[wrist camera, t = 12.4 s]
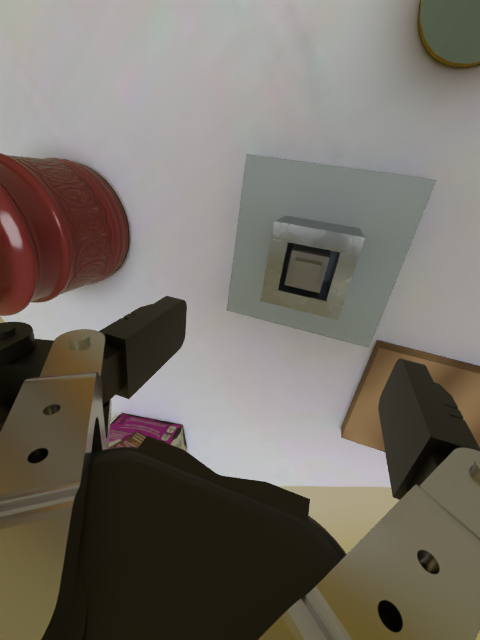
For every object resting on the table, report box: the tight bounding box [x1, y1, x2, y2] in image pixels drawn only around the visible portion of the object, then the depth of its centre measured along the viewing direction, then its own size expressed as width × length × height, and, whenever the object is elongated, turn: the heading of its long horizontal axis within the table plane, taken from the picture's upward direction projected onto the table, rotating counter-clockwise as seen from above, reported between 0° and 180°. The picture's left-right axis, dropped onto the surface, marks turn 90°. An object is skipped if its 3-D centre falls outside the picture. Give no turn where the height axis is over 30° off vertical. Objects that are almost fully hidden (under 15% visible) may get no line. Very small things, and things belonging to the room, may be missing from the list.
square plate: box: [227, 154, 436, 347], centre depth 23 cm, size 14×14×8 cm
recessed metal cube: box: [260, 216, 365, 320], centre depth 22 cm, size 6×6×5 cm
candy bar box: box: [109, 414, 186, 451], centre depth 37 cm, size 11×5×16 cm, turn 94°
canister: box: [0, 153, 129, 316], centre depth 25 cm, size 13×13×18 cm
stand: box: [341, 340, 480, 452], centre depth 27 cm, size 12×12×6 cm
